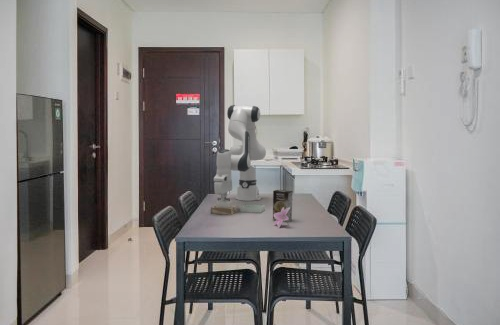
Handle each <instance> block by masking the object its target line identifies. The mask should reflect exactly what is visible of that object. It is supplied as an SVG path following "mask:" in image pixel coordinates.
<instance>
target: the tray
mask: <svg viewBox="0 0 500 325" xmlns="http://www.w3.org/2000/svg"><path fill="white" fill-rule="evenodd" d="M265 210H266V205H265V204H263V205H262V204H244V205H242V206H240V213H250V214H251V213H252V214H261V213H263V212H265Z"/></svg>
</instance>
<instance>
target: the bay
mask: <svg viewBox="0 0 500 325" xmlns="http://www.w3.org/2000/svg"><path fill="white" fill-rule="evenodd" d="M235 213H237V205H232V207H231V208H216V205H213V206H211V207H210V214H212V215H226V214H228V216H231V215H233V214H235Z"/></svg>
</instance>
